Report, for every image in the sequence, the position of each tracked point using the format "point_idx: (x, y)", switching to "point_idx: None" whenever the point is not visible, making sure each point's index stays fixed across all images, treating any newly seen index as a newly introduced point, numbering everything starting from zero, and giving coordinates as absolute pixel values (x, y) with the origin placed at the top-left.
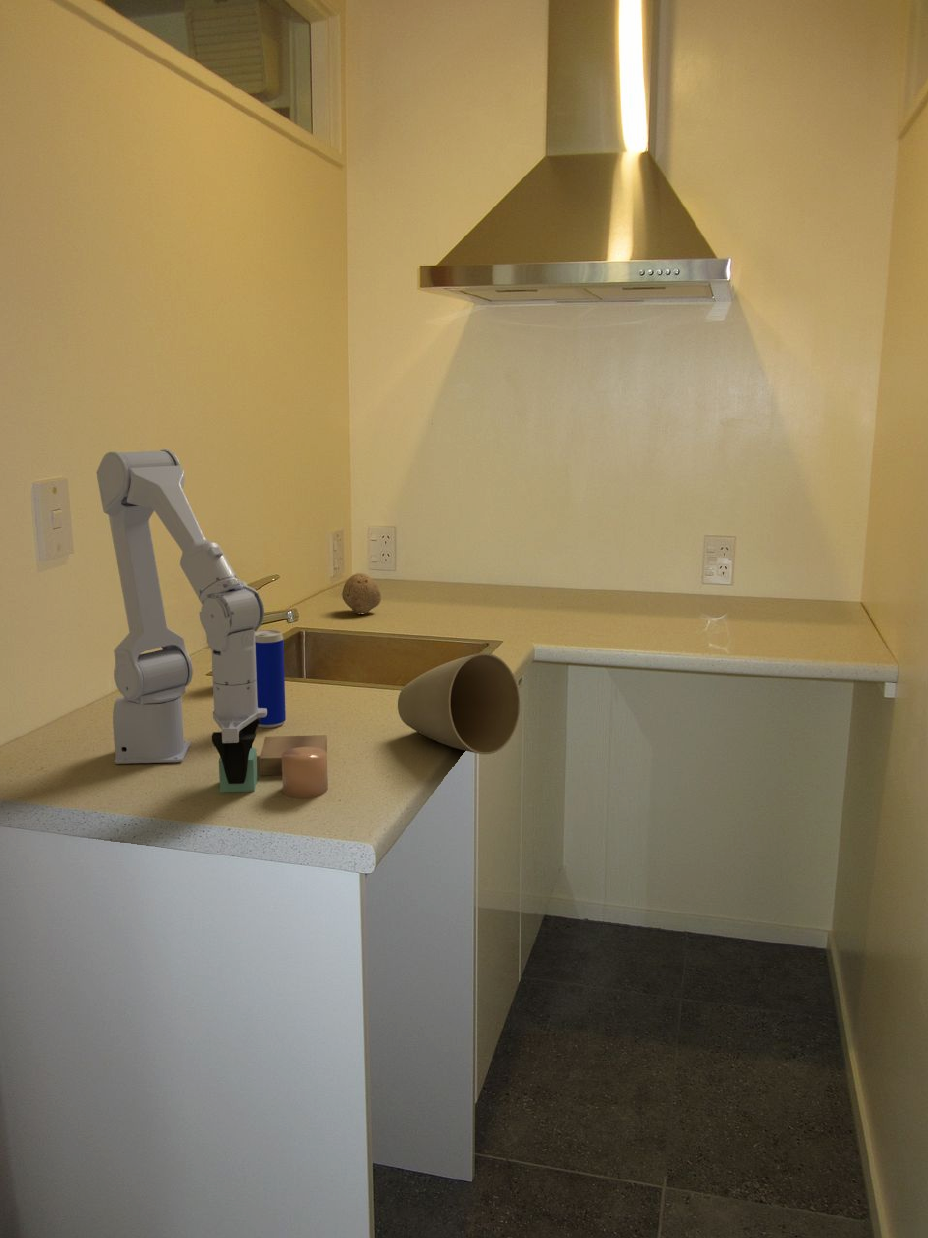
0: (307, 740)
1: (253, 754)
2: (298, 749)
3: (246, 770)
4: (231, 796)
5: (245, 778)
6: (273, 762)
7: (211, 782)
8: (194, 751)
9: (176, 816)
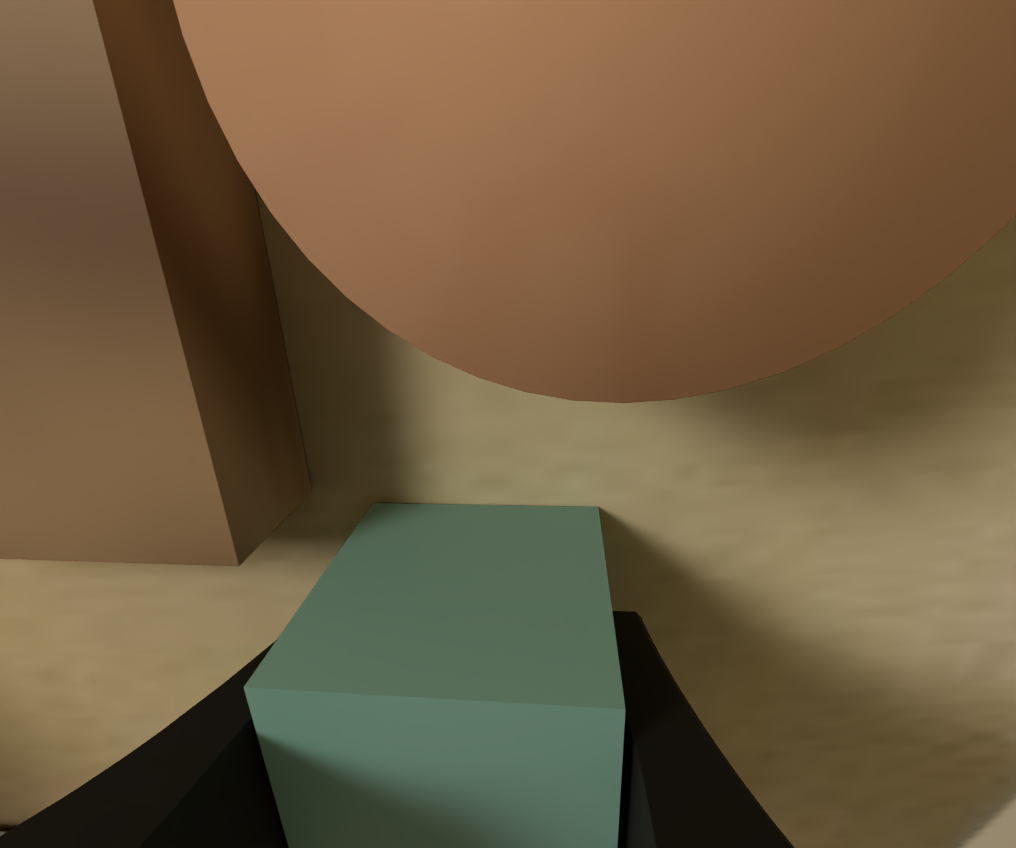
0: None
1: (445, 709)
2: (322, 104)
3: (674, 685)
4: (660, 627)
5: (622, 626)
6: (236, 439)
7: None
8: (34, 802)
9: (897, 842)
